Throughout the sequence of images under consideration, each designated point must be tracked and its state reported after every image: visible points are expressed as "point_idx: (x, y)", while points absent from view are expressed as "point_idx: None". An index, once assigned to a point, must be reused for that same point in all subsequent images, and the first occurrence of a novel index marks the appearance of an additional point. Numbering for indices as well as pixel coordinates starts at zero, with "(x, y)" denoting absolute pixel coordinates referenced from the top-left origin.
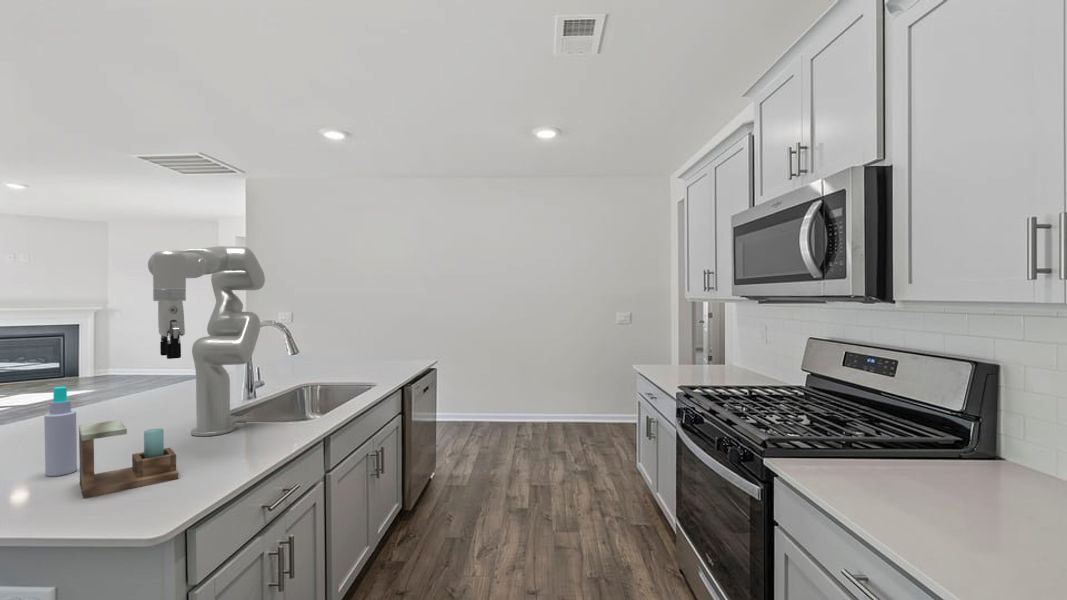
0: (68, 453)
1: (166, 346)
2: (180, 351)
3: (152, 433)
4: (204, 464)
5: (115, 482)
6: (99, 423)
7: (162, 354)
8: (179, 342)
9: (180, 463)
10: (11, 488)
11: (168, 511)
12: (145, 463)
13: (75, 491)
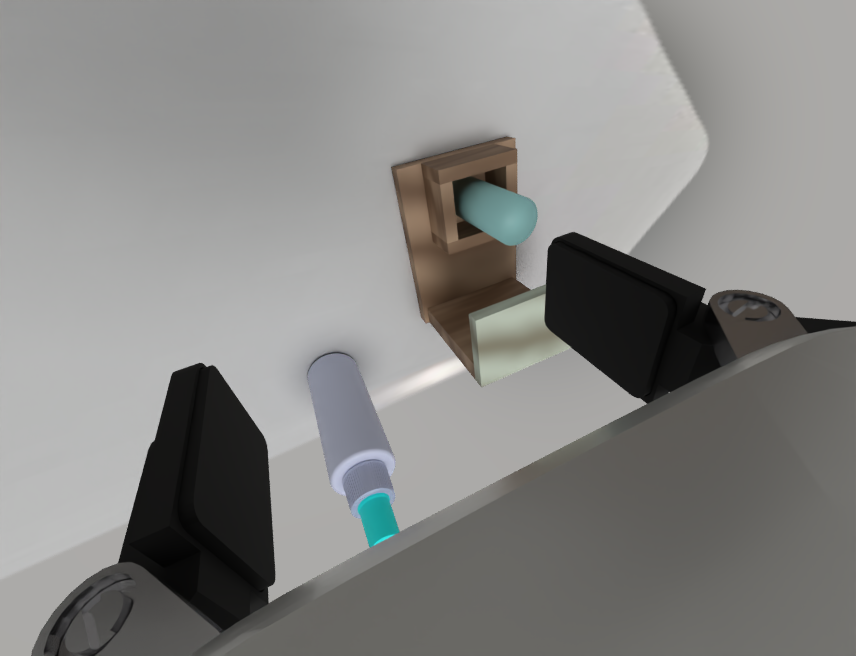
0: (361, 383)
1: (245, 496)
2: (617, 253)
3: (535, 220)
4: (427, 66)
5: (499, 253)
6: (489, 354)
7: (260, 441)
8: (753, 300)
9: (381, 137)
10: (392, 401)
11: (651, 144)
12: None
13: None
